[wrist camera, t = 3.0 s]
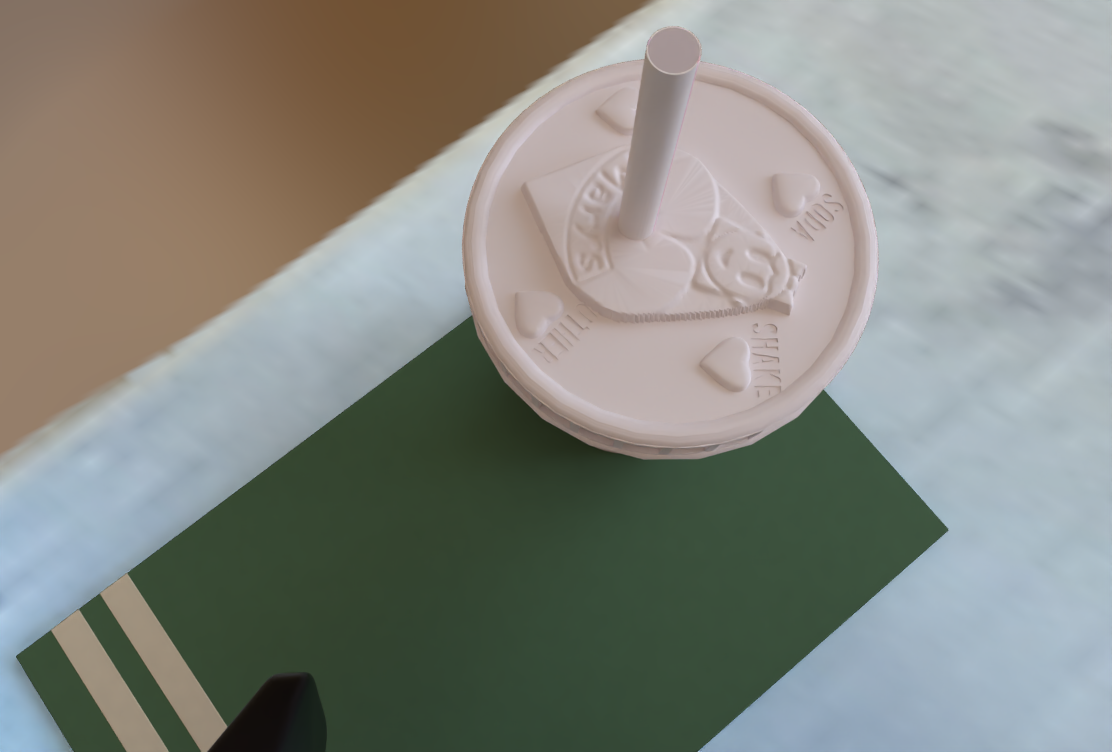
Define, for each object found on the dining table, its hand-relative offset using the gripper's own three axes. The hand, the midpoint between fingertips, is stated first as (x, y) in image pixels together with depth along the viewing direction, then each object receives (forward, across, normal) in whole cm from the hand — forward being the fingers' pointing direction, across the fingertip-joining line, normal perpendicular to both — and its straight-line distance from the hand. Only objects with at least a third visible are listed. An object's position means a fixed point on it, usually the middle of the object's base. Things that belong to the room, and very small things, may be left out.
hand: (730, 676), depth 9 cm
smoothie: (+13, 0, +4) cm, 13 cm away
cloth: (+9, +4, +8) cm, 13 cm away
